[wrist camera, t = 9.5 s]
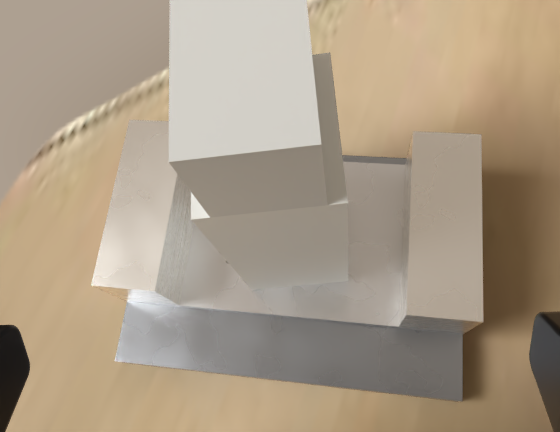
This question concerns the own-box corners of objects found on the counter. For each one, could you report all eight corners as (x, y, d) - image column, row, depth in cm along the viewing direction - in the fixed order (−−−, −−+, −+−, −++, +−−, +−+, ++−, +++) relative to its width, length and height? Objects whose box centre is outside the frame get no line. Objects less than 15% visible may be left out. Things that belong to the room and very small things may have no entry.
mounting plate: (457, 401, 21) (484, 401, 17) (124, 362, 23) (75, 354, 19) (458, 170, 24) (481, 122, 20) (166, 155, 26) (131, 109, 22)
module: (348, 281, 21) (347, 141, 10) (251, 290, 22) (143, 165, 10) (336, 177, 23) (324, -47, 12) (246, 187, 23) (148, -21, 12)
